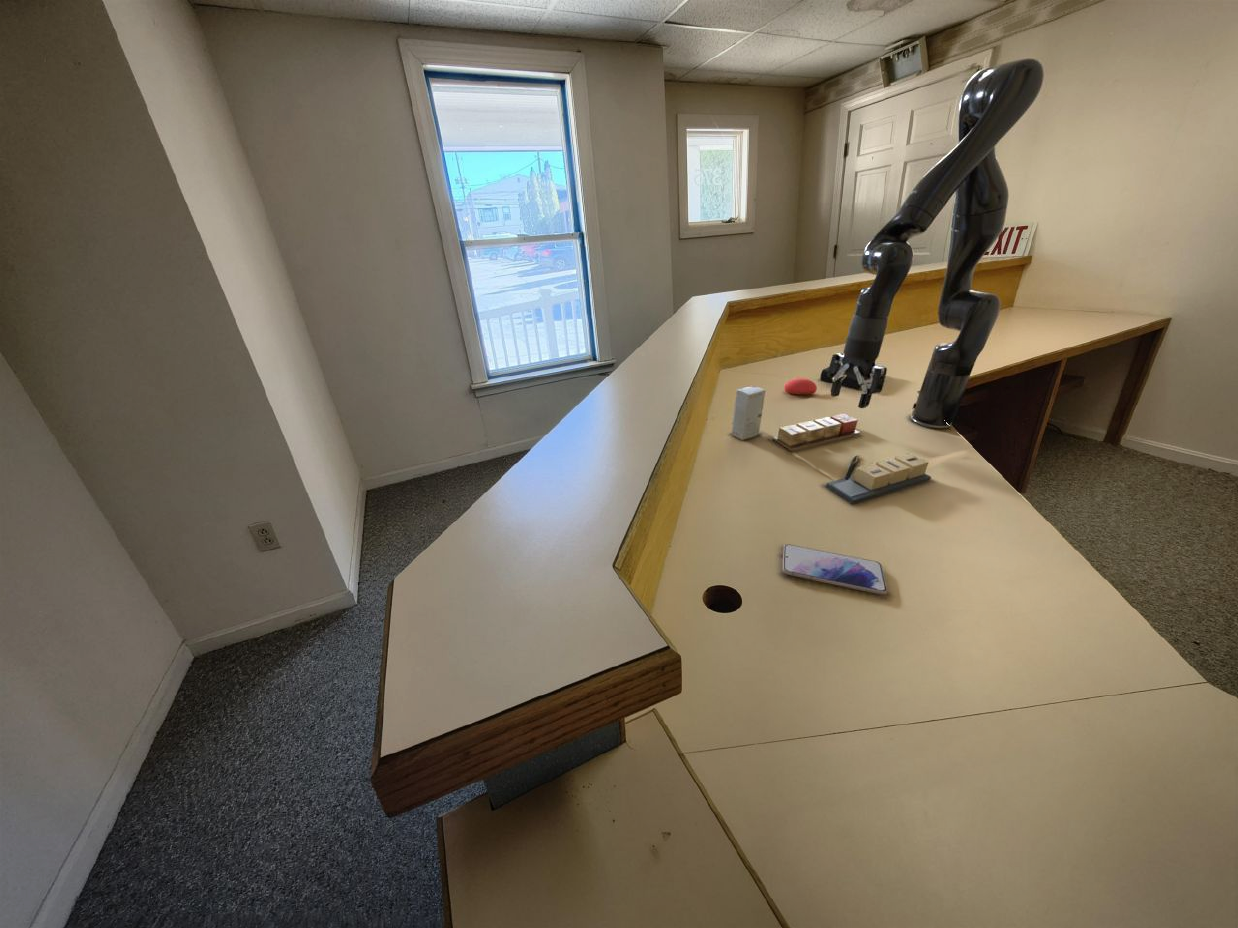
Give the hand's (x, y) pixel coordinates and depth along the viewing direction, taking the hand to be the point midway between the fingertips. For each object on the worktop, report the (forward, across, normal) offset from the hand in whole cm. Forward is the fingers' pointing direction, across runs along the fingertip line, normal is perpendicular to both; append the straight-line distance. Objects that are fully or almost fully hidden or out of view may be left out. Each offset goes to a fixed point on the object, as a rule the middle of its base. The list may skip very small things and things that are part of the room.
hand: (847, 401), depth 113 cm
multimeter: (+8, +30, -36) cm, 48 cm away
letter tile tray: (+9, 0, +8) cm, 12 cm away
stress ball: (+9, +26, -10) cm, 29 cm away
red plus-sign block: (+8, 0, 0) cm, 8 cm away
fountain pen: (+8, -16, +13) cm, 22 cm away
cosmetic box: (+9, +9, +23) cm, 26 cm away
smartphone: (+9, -38, +41) cm, 57 cm away
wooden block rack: (+9, -22, +12) cm, 26 cm away
